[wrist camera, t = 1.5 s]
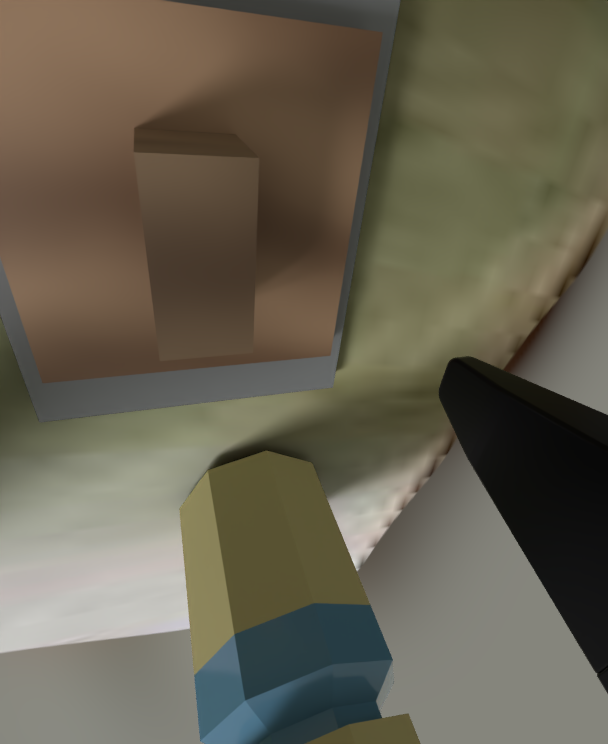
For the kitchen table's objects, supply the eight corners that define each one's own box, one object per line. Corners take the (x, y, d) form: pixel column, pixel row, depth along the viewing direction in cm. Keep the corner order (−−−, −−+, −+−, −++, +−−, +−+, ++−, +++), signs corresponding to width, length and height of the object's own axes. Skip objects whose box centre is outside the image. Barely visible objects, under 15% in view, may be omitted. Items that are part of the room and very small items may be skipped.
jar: (173, 542, 29) (197, 867, 18) (184, 445, 24) (226, 812, 13) (300, 526, 32) (388, 790, 21) (333, 438, 27) (471, 721, 16)
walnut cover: (322, 342, 21) (359, 404, 18) (47, 365, 18) (25, 448, 14) (367, 32, 14) (444, 31, 10) (-79, -32, 10) (-188, -66, 7)
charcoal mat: (326, 376, 24) (332, 387, 23) (43, 407, 20) (39, 422, 19) (400, -87, 13) (416, -94, 13) (-178, -224, 9) (-206, -248, 8)
